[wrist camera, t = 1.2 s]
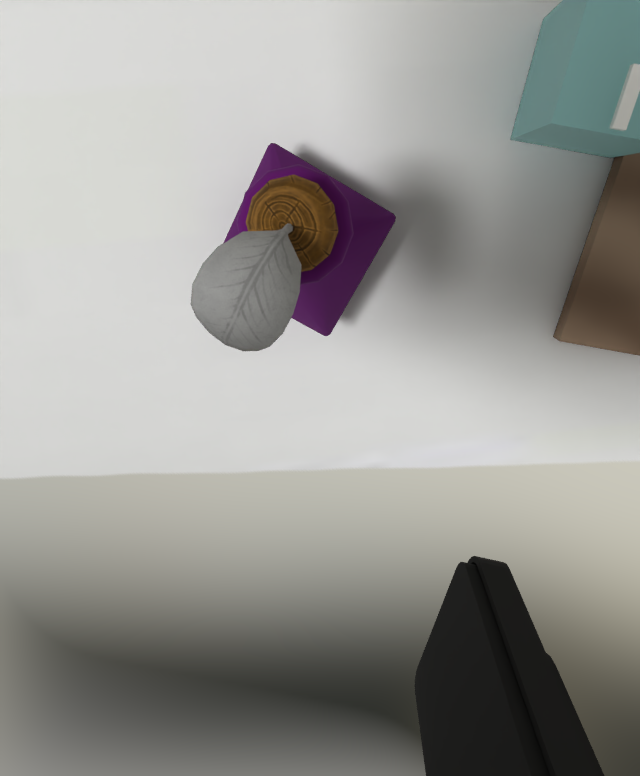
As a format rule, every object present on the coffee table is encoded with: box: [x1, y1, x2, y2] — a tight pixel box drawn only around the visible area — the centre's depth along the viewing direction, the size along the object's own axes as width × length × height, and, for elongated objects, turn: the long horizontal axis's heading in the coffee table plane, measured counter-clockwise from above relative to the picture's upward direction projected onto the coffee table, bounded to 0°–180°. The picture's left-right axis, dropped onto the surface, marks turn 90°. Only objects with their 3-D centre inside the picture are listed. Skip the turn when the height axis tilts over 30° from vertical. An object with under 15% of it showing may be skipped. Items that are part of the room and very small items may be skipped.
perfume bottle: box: [191, 143, 396, 351], centre depth 22 cm, size 8×8×18 cm
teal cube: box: [510, 0, 640, 158], centre depth 24 cm, size 6×6×6 cm
